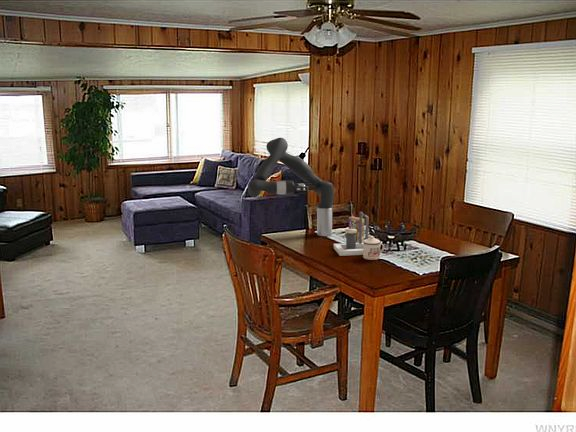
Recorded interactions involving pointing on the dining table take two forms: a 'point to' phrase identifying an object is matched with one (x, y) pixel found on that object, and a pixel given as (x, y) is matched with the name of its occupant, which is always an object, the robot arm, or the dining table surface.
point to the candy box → (356, 227)
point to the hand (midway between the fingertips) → (313, 186)
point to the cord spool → (350, 238)
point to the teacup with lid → (372, 248)
